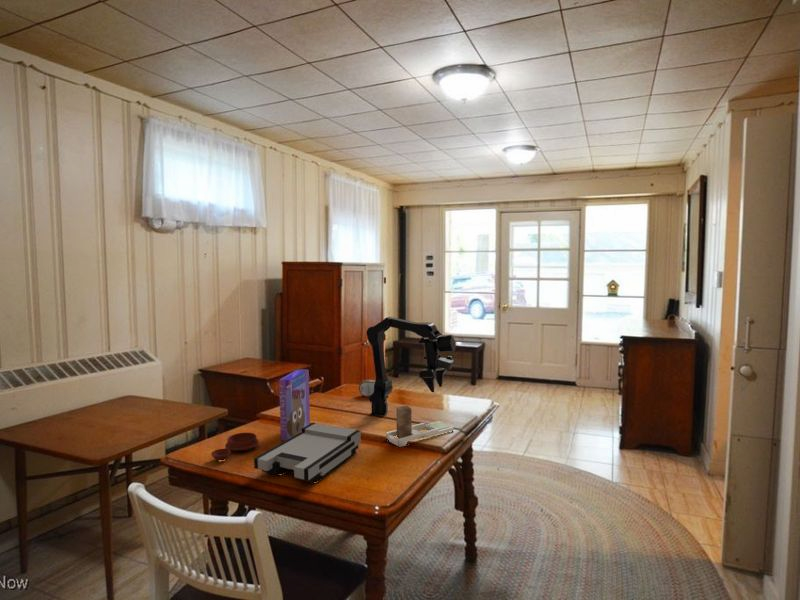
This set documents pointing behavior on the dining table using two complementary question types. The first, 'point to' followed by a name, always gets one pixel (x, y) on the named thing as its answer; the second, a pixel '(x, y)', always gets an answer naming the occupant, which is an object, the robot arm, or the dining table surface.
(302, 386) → the cereal box
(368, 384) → the tin
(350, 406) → the dining table surface
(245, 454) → the dining table surface
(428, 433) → the box
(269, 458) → the game console
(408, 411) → the walnut block
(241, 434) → the pottery
